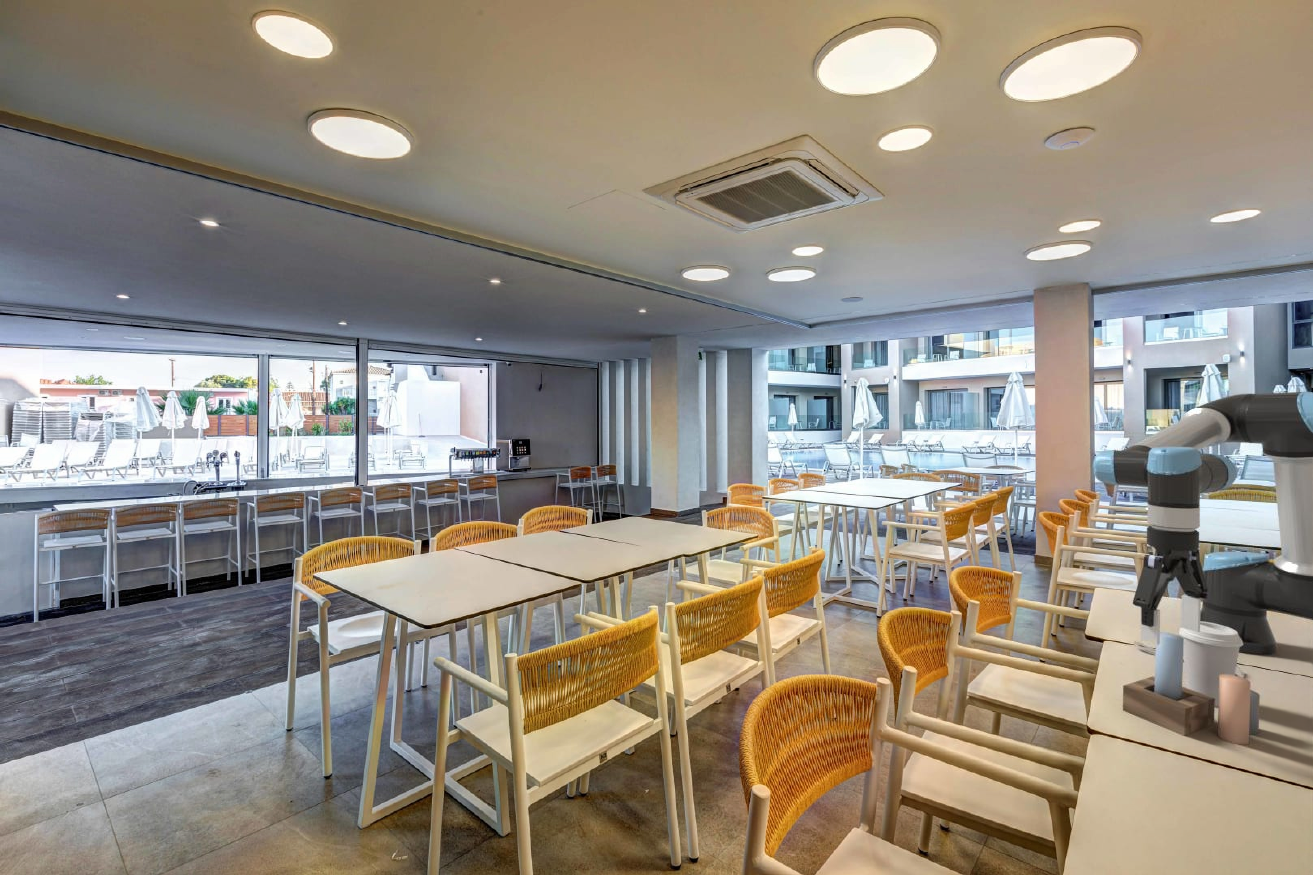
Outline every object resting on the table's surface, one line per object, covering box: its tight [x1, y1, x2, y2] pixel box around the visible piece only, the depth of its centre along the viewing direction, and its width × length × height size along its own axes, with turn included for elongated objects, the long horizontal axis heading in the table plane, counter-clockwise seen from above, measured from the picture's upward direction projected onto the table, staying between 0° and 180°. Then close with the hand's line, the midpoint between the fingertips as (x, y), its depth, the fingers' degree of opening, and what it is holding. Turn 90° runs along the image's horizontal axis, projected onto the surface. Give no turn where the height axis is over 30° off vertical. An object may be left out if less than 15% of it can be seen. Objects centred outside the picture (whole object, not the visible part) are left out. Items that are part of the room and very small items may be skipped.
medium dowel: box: [1217, 674, 1251, 746], centre depth 105 cm, size 4×4×11 cm
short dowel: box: [1249, 689, 1261, 735], centre depth 108 cm, size 4×4×7 cm
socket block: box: [1122, 675, 1216, 737], centre depth 112 cm, size 10×10×5 cm
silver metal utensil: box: [1132, 640, 1245, 678], centre depth 137 cm, size 20×4×5 cm
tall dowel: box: [1154, 631, 1184, 701], centre depth 112 cm, size 4×4×16 cm
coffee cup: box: [1178, 621, 1243, 708], centre depth 119 cm, size 10×10×15 cm
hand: (1170, 635), depth 112 cm, fingers open, 13 cm apart
